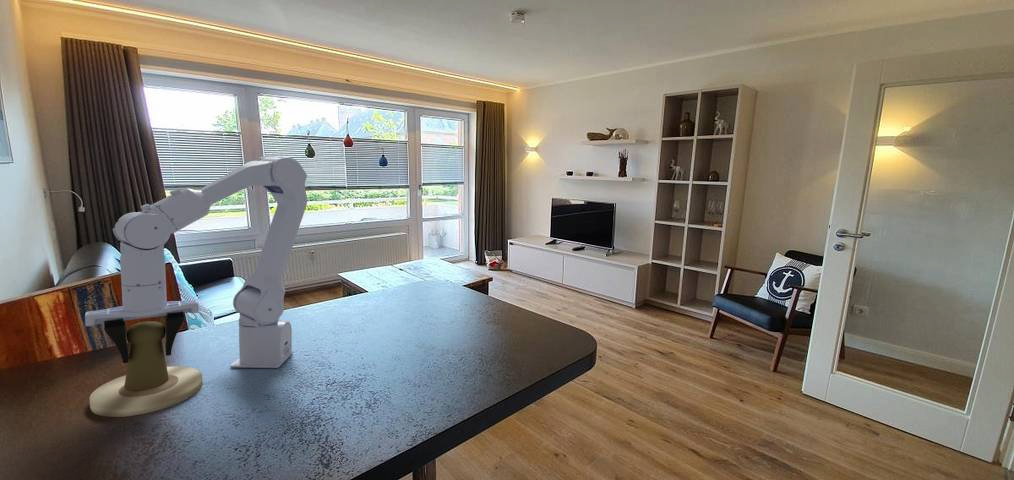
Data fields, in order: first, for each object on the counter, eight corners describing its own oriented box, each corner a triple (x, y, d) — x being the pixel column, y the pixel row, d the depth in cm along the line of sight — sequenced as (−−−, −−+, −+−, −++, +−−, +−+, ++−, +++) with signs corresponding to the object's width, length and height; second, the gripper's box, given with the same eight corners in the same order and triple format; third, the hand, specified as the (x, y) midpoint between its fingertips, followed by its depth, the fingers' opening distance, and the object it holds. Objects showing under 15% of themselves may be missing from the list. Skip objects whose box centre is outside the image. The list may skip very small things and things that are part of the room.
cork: (145, 392, 70) (145, 331, 68) (114, 387, 70) (112, 326, 69) (177, 377, 76) (177, 320, 74) (148, 372, 76) (147, 316, 75)
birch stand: (219, 374, 81) (219, 366, 80) (166, 416, 66) (165, 408, 66) (136, 373, 79) (136, 365, 79) (62, 417, 64) (61, 407, 64)
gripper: (195, 273, 77) (197, 341, 79) (86, 281, 68) (91, 358, 70) (198, 281, 72) (200, 354, 74) (81, 291, 63) (87, 374, 64)
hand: (147, 357), depth 71 cm, fingers closed on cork, 5 cm apart
